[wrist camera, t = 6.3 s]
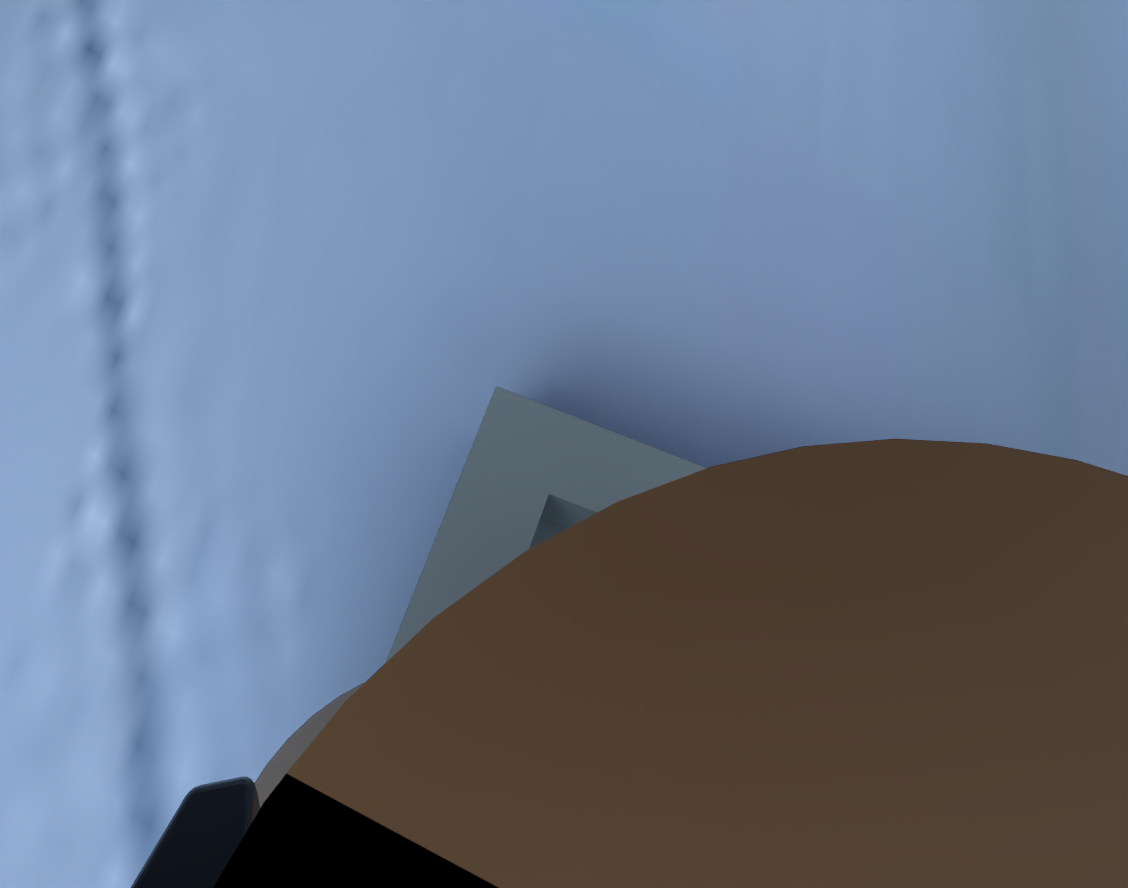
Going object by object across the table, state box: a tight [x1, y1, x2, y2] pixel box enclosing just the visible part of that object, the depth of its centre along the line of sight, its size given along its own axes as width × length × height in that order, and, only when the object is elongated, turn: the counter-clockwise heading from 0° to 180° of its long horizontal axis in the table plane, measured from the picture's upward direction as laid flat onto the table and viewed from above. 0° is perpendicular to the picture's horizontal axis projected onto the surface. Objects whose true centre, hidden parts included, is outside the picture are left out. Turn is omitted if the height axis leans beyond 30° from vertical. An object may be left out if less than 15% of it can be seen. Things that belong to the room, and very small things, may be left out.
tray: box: [386, 386, 706, 662], centre depth 19 cm, size 13×13×2 cm
